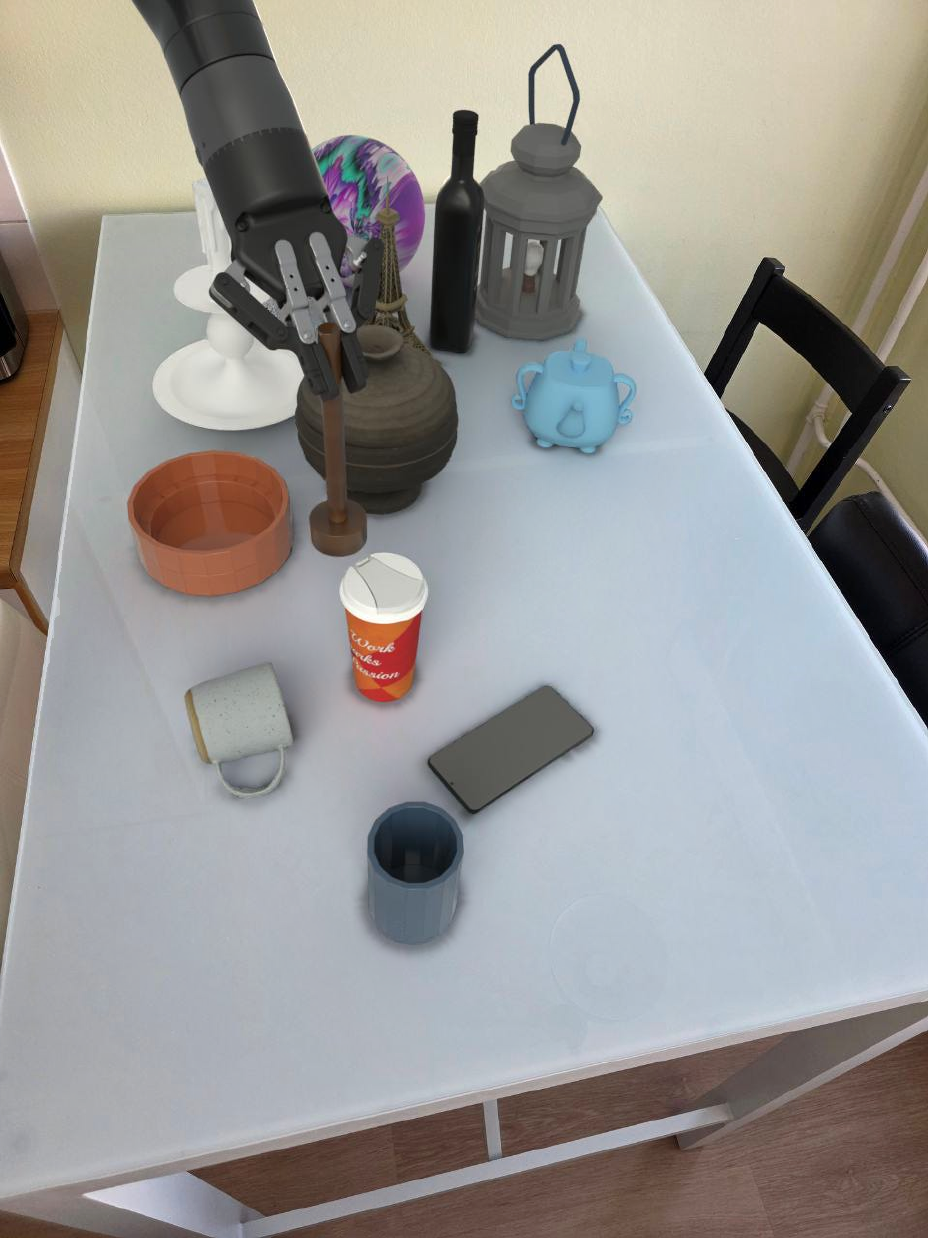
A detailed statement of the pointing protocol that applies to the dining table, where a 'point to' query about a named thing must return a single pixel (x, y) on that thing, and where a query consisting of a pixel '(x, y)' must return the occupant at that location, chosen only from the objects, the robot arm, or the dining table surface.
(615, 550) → the dining table surface
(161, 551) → the mixing bowl
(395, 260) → the eiffel tower
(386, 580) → the paper cup
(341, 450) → the brown wooden plunger
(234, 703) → the ceramic mug
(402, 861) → the crock
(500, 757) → the smartphone
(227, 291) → the robot arm
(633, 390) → the blue sugar bowl
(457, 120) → the wine bottle
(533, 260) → the lantern
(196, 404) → the candlestick
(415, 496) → the pot
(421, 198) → the decorative sphere
